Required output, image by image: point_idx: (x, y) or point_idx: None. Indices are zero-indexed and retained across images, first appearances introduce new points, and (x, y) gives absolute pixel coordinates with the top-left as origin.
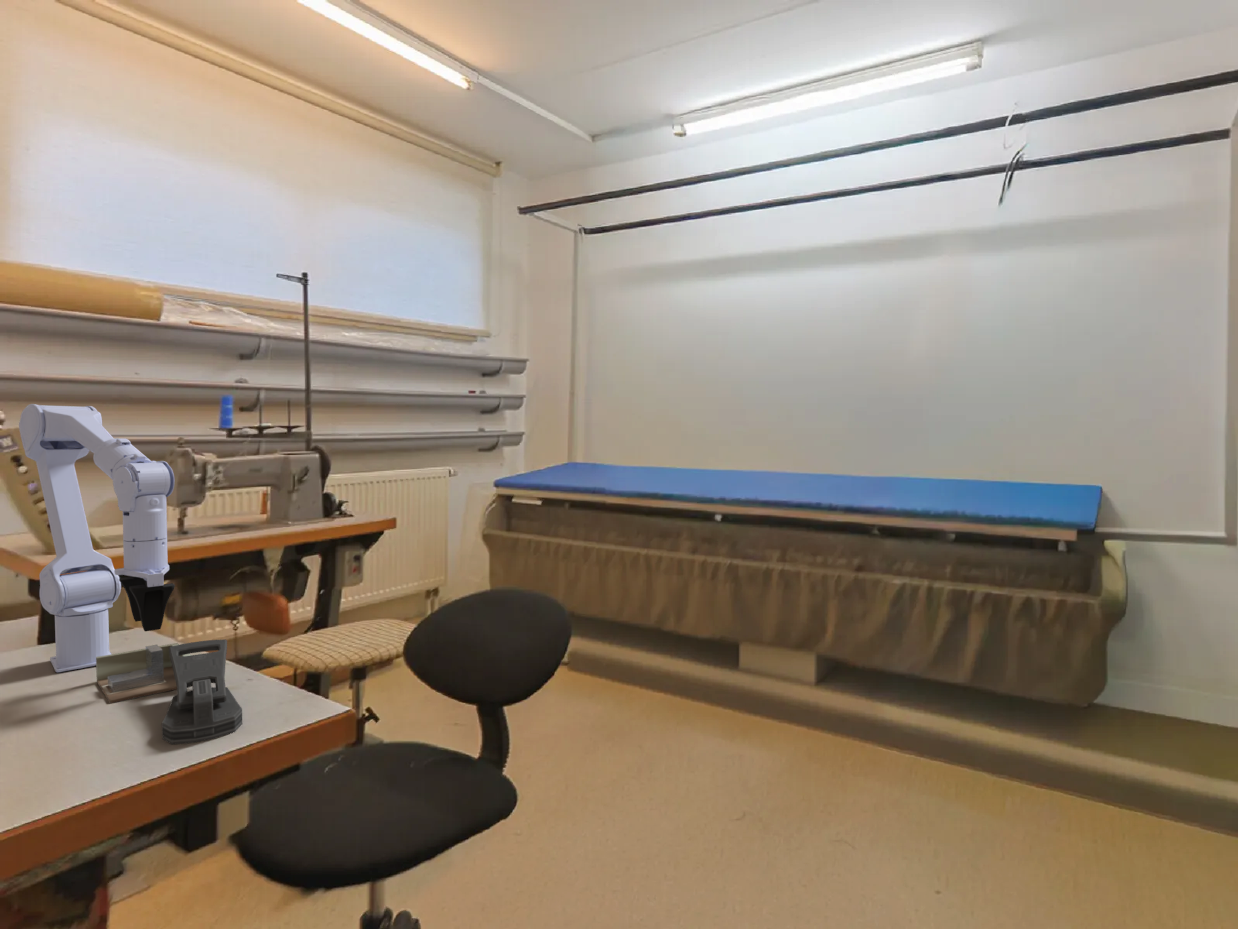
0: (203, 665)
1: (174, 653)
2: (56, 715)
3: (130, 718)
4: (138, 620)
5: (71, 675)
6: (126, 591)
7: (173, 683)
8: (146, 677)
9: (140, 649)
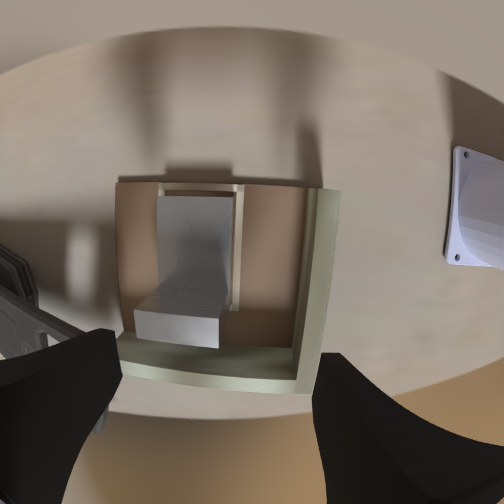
0: (5, 337)
1: (49, 332)
2: (125, 92)
3: (32, 202)
4: (320, 364)
5: (423, 163)
6: (409, 441)
7: None
8: (158, 272)
9: (324, 312)
